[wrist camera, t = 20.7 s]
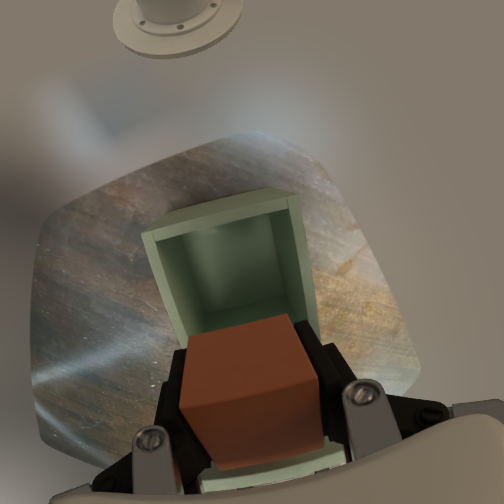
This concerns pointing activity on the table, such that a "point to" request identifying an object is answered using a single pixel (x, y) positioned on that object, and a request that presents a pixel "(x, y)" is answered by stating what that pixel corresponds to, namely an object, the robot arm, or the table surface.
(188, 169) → the table surface
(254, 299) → the green box
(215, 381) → the block
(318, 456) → the box lid
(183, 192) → the table surface
